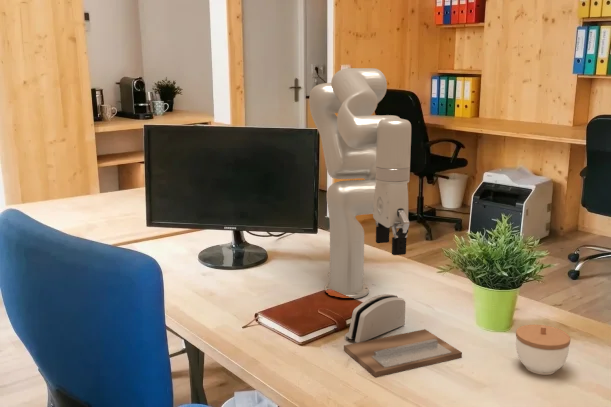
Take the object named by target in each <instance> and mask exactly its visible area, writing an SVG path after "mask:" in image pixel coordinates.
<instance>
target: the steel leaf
mask: <svg viewBox="0 0 611 407" xmlns="http://www.w3.org/2000/svg"><path fill="white" fill-rule="evenodd" d="M447 354H451V351H449V350H448V349H446V348H445V347H443V346H441V345H440V344H438V340H436V339H431V340H427V341H422V342H417V343H412V344H408V345H403V346H398V347H393V348H389V349H384V350H379V351H374V356H371V358H372V359H373V360H375V361H376V362H377V363H378V364H380V365H381V366H382V367H383V368H390V367H394V366H398V365H403V364H407V363H412V362H416V361H421V360H425V359H430V358H434V357H439V356H443V355H447Z"/></svg>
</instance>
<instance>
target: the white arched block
mask: <svg viewBox="0 0 611 407" xmlns="http://www.w3.org/2000/svg"><path fill="white" fill-rule="evenodd" d="M351 314H352V315H351V320H350V324H349V329H348V332H346V333H345V335H344V340H345V341H348V340H352V339H354V343H359V342H364V341H369V340H372V339H373V338H374V339H375V338H376V337H378V336H381V335H383V334H385V333H388V332H390V331H392V330H395V329H397V328H401V327H403V326H404V325H405V324H406V300H404V299H403V298H402V297H398V296H397V295H395V294H391V293H390V294H389V293H388V294H386V293H385V294H378V295H375V296H372V297H370V298H369V299H367V300H364V301H363V302H362V303H360V304H359V305H358V306H356V307H355V308H354V309H353V311H352V313H351Z"/></svg>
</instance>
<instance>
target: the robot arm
mask: <svg viewBox="0 0 611 407" xmlns="http://www.w3.org/2000/svg"><path fill="white" fill-rule="evenodd" d="M387 87H388V83H387V78H386V75H385V74H384V73H383V72H382V71H381V70H380V69H378V68H373V67H371V68H370V67H367V68H363V67H362V68H361V67H358V68H357V67H355V68H353V67H352V68H350V67H349V68H348V67H347V68H343V69H340V70H338V71H336V72H335V73H334V75H333V76H332V78H331V82H325V83H323V82H322V83H319V84H317V85H314V87H312V89H311V90H310V91H309V99H308V101H309V112H310V115H311V117H312V120H313V123H314V126H315V127H316V129H317V132H318V134H319V136H320V140H321V147H322V152H323V157H324V161H325V162H324V163H325V167H326V171H327V173H328V175H329V176H330V178H333V179H336V180H340V181H336V182H333V183H332V184H330V185H329V186H328V187H327V190H326V203H327V209H328V218H329V220H328V221H329V271H328V274H327V276H328V277H329V283H327V284H325V285H324V289H323V291H324V290H327V289H332V290H335V291H337V292H340V293H342V294H344V295H346V296H349V297H352V298H354V299H359V298H363V297H365V296H367V295H369V292H370V288H369V286H368V285H367V284H365V282H364V278H365V277H364V275H365V273H364V272H365V271H364V269H365V268H364V267H365V230H364V228H363V226H362V224H361V223H360V221H358V219H357V216H362V215H363V216H364V215H372V218H373V220H375V225H376V226H375V243H376V244H386V243H390V228H391V230H392V234H393V235H392V237H391V255H392V256H401V255H402V256H404V255H406V254H407V238H408V233H409V228H410V220H409V190H408V186H409V185H408V183H410V177H411V176H410V174H411V173H410V172H411V151H412V150H411V146H412V124H411V122H410V121H409V120H408V119H404V118H400V116H398V115H391V114H390V115H389V114H386V115H379V114H378V115H377V114H376V115H375V114H374V113H375V111H376V109H377V107H378V104H379V103H380V102H381V101H382V100H383V98H384V97H385V95H386V94H387V90H388V88H387ZM336 114H337V115H336ZM373 114H374V115H373Z"/></svg>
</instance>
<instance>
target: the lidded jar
mask: <svg viewBox="0 0 611 407" xmlns="http://www.w3.org/2000/svg"><path fill="white" fill-rule="evenodd" d="M515 338H516V339H515V348H516V354H517V357H518V358H519V361H520V362H521V363H522V365H523V366H524V367H525V369H526V370H527V371H528V372H530V373H532V374H535V375H542V376H550V375H553V374H555V373H556V372H557V371H558V370H559V369H561V368H562V367H563V366H564V364H565V363H566V361H567V359H568V355H569V351H570V344H571V337H570V335H569V334H568V333H566V331H564V330H562V329H559V328H556V327H554V326H549V325H545V324H525V325H522V326H519V327H518V328H516V330H515Z"/></svg>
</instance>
